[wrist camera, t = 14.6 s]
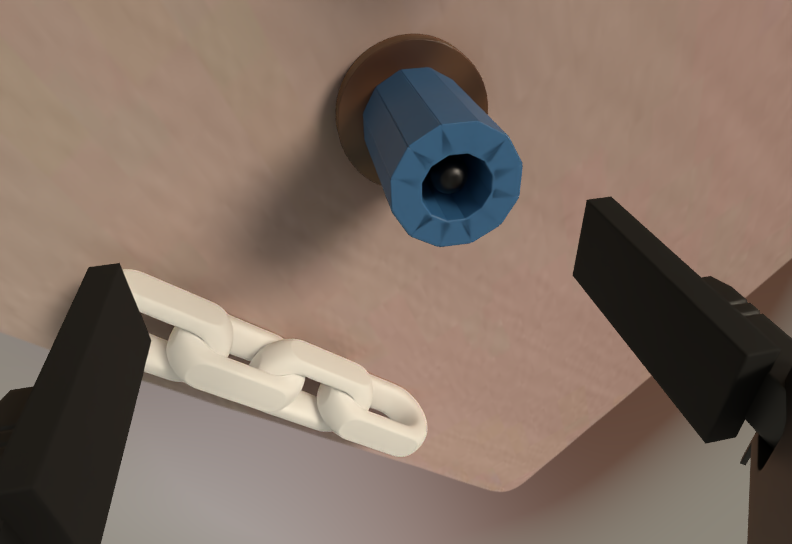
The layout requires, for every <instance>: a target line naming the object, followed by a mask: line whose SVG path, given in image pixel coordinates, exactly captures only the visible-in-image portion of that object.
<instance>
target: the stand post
mask: <svg viewBox="0 0 792 544" xmlns="http://www.w3.org/2000/svg"><path fill="white" fill-rule="evenodd" d="M427 176H428V178H429V179H430V181H431V183H432V185H433V186H434V187H435V188H436V189H437V190H438V191H440V192H442V193H446V194H451V193H455V192H457V191H459V190H461V189H462V188H463V187H464V185H465V184H466V181H467V178H468V170H467V167H466V165H465V163H464V162H463V160H462V159H461V157H460V156H459V155H458V154H457V155H449V156H447V157H446V158H444V159H443V160H441V161H439V162H438V163H436V164H435V165H433V166H432V167H431V168H430V170H429V172H428V173H427Z"/></svg>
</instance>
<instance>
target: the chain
mask: <svg viewBox="0 0 792 544" xmlns="http://www.w3.org/2000/svg"><path fill="white" fill-rule="evenodd" d="M122 270H123V273H124V275H125V277H126V280H127V282H128V285H129V287H130V290H131V292H132V294H133V297H134V299H135V302H136V304H137V307H138V309H139V311H140V312H141V313H144V314H146V315H148V316H151V317H153V318H156V319H158V320H161V321H163V322H166V323H168V324H171V325H174V328H173V330H172V332H171V334H170V337H169V339H168V341H167V340H165V339H162V338H160V337H157V336H155V335H152V334H149V336H150V338H151V344H150V348H149V352H148V356H147V360H146V364H145V368H144V372H147V373H149V374H152V375H155V376H158V377H161V378H164V379H167V380H171V381H175V382H185V383H186V384H188V385H189V386H191V387H193V388H196V389H198V390H201V391H204V392H207V393H210V394H213V395H216V396H219V397H222V398H225V399H228V400H231V401H234V402H237V403H239V404H242V405H245V406H248V407H251V408H254V409H257V410H260V411H262V412H265V413H267V414H270V415H273V416H276V417H279V418H282V419H285V420H288V421H291V422H294V423H297V424H300V425H303V426H306V427H309V428H312V429H314V430H318V431H322V432H334V433H336V434H337V435H338V436H340V437H341V438H343V439H346V440H348V441H351V442H354V443H357V444H360V445H363V446H366V447H369V448H372V449H375V450H378V451H381V452H384V453H387V454H390V455H393V456H397V457H404V456H408V455H410V454H412V453H414V452H415V451H416V450H417V449H418V448H419V447H420V446H421V445H422V443H423V442H424V440H425V438H426V434H427V421H426V417H425V415H424V412H423V410H422V408H421V407H420V405H419V404H418V402H417V401H416V400H415V399H414V397H413V396H412V395H411V394H410V393H409V392H407V391H406V390H405V389H403V388H402V387H400V386H398V385H396V384H393V383H391V382H389V381H386V380H384V379H381V378H379V377H377V376H374V375H372V374H369V373H368V372H367V371H366V370H365V369H364V368H363V367H362V366H361V365H359V364H357V363H355V362H353V361H350V360H348V359H346V358H343V357H341V356H338V355H336V354H334V353H331V352H329V351H327V350H324V349H322V348H320V347H317V346H315V345H313V344H310V343H308V342H306V341H303V340H300V339H284V338H282V337H280V336H279V335H277V334H274V333H272V332H269V331H267V330H265V329H262V328H260V327H258V326H255V325H253V324H250V323H248V322H246V321H243V320H241V319H238V318H236V317H234V316H231V315H229V314H227V313H226V311H225V310H224V309H223V308H222V307H220V306H219V305H217V304H216V303H213V302H211V301H209V300H207V299H204V298H202V297H200V296H197V295H195V294H193V293H190V292H188V291H186V290H183V289H181V288H179V287H176V286H174V285H171V284H169V283H167V282H164V281H162V280H160V279H157V278H155V277H153V276H150V275H148V274H146V273H143V272H140V271H137V270H133V269H122ZM229 354H231V355H234V356H237V357H239V358H242V359H245V360H248V361H250V364H249V365H246V364H244V363H241V362H238V361H235V360H233V359H230V358H227V357H228V356H229ZM305 377H308V378H310V379H313V380H315V381H317V382H320V383H321V384H320V386H319V388H318V392H317V396H314V395H312V394H309V393H307V392H304V391H302V387H303V385H304V382H305ZM369 408H373V409H375V410H378V411H380V412H382V413H384V414H385V415H386V416H388V417H389V418H390V419H389V418H386V417H383V416H381V415H378V414H375V413H372V412H369V411H368V410H369Z"/></svg>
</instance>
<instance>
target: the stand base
mask: <svg viewBox="0 0 792 544" xmlns="http://www.w3.org/2000/svg"><path fill="white" fill-rule="evenodd" d="M425 67H429V68H432V69H433V70H435V71H437V72H439V73H441V74H443V75H445V76H447V77H449V78H450V79H452V80H453V81H454V82H455V83H456V84H457V85H458V86H459V87H460V88H461V89H462V90H463V91H464V92H465V93H466V94H467V95H468V96H469V97H470V98H471V99H472V100H473V101H474V102H475V103H476V104H477V105H478V106H479V107H480V108H481V109H482V110H483V111H484V112H485V113H486V114H487V115H488V101H487V93H486V90H485V86H484V83H483V81H482V78H481V76H480V74H479V72H478V71H477V69H476V67H475V66H474V65H473V64H472V62H471V61H470V60H469V59H468V58H467V57H466V56H465V55H464V54H463V53H461V52H460V51H459V50H458V49H456V48H455V47H454V46H452V45H451V44H449V43H448V42H446V41H443V40H441V39H439V38H436V37H433V36H430V35H423V34H404V35H398V36H394V37H391V38H388V39H386V40H383V41H381V42H379V43H377V44H376V45H374V46H372V47H371V48H369V49H368V50H367V51H366V52H364V53H363V54H362V55H361V56H360V57H359V58H358V59H357V60H356V61H355V62H354V63H353V65H352V66H351V68H350V69H349V70H348V72H347V74H346V75H345V77H344V79H343V81H342V84H341V86H340V89H339V92H338V97H337V101H336V125H337V130H338V134H339V138H340V141H341V144H342V147H343V149H344V151H345V154H346V156H347V157H348V159H349V160H350V162H351V163H352V164H353V166H354V167H355V168H356V169H357V170H358V171H359V172H360V173H361V174H362V175H364V176H365V177H366V178H368V179H369V180H371V181H373V182H375V183H377V184H379V185H381V182H380V179H379V177H378V174H377V171H376V169H375V166H374V164H373V161H372V158H371V156H370V153H369V150H368V148H367V145H366V142H365V140H364V126H363V114H364V113H363V112H364V110H365V108H366V106H367V104H368V102H369V100H370V97H371V95H372V93H373V91H374V89H375V88H376V86H377V85H379V84H380V83H382V82H383V81H384V80H386V79H387V78H389V77H390V76H392V75H393V74H394V73H396V72H397V71H399V70H401V69H413V68H425ZM381 186H382V185H381Z"/></svg>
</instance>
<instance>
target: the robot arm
mask: <svg viewBox="0 0 792 544" xmlns="http://www.w3.org/2000/svg"><path fill="white" fill-rule="evenodd" d="M573 276H574V278H575V279H576V280H577V281H578V283H579V284H580V285H581V286H582V288H583V289H584V290H585V292H586V293H587V294H588V295H589V297H590V298H591V299H592V300H593V302H594V303H595V304H596V305H597V307H598V308H599V309H600V311H601V312H602V313H603V314H604V316H605V317H606V318H607V319H608V321H609V322H610V323H611V324H612V326H613V327H614V328H615V330H616V331H617V332H618V333H619V335H620V336H621V337H622V338H623V340H624V341H625V342H626V343H627V345H628V346H629V347H630V348H631V350H632V351H633V352H634V354H635V355H636V356H637V357H638V359H639V360H640V361H641V362H642V364H643V365H644V366H645V367H646V369H647V370H648V371H649V373H650V374H651V375H652V376H653V378H654V379H655V380H656V381H657V382H658V384H659V385H660V386H661V388H662V389H663V390H664V392H665V393H666V394H667V395H668V396H669V398H670V399H671V400H672V402H673V403H674V404H675V405H676V407H677V408H678V409H679V410H680V412H681V413H682V414H683V416H684V417H685V418H686V419H687V420H688V422H689V423H690V424H691V426H692V427H693V428H694V429H695V431H696V432H697V433H698V435H699V436H700V437H701V438H702V440H703V441H704V442H705V443H710V442H715V441H720V440H725V439H730V438H735V437H736V436H737V434H738V432H739V430H740V428H741V426H742V424H743V423H744V421H745V419H746V421H747V422H748V423H750V425H751V426H752V427H753V428H754V429H755V431H756V433H755V435H754V437H753V439H752V440H751V442H750V444H749V446H748V448H747V450H746V452H745V453H744V455H743V457H742V459H741V462H740V463H741V464H744V465H746V463H747V462H748V460H749V458H751V467H750V491H749V517H748V541H747V544H792V338H791V337H789V336H788V335H787V334H786V333H785V332H784V331H782V330H781V329H780V328H779V327H778V326H777V325H775V324H774V323H773V322H772V321H771V320H770V319H768V318H767V317H766V316H765V315H764V314H760V311H759V310H758V309H757V308H756V307H754V306H753V305H752V304H751V303H747V300H746V299H745V298H744V297H743V296H742V295H741V294H739V293H738V292H737V291H736V290H735V289H734V288H732V287H731V286H729V285H727V284H725V283H723V282H721V281H719V280H717V279H715V278H713V277H711V276H708V277H702V278H701V277H700V276H699V275H698V274H697V273H696V272H694V271H693V270H692V269H691V268H690V267H689V266H688V265H687V264H686V263H684V262H683V261H682V260H681V259H680V258H679V257H678V256H677V255H675V254H674V253H673V252H672V251H671V250H670V249H669V248H668V247H667V246H665V245H664V244H663V243H662V242H661V241H660V240H659V239H658V238H657V237H655V236H654V235H653V234H652V233H651V232H650V231H649V230H648V229H647V228H645V227H644V226H643V225H642V224H641V223H640V222H639V221H638V220H637V219H635V218H634V217H633V216H632V215H631V214H630V213H629V212H628V211H626V210H625V209H624V208H623V207H622V206H621V205H620V204H619V203H618V202H616V201H615V200H614V199H613V198H612V197H604V198H597V199H589V200H587V202H586V207H585V212H584V218H583V223H582V228H581V234H580V239H579V244H578V250H577V255H576V260H575V265H574V271H573ZM150 344H151V338H150V336H149V333H148V331H147V328H146V326H145V324H144V321H143V319H142V316H141V314H140V311H139V309H138V307H137V304H136V302H135V299H134V297H133V294H132V292H131V290H130V287H129V285H128V282H127V280H126V277H125V275H124V273H123V270H122V268H121V265H120V263H117V264H109V265H102V266H95V267H89V268H88V270H87V272H86V274H85V276H84V279H83V281H82V283H81V285H80V287H79V289H78V292H77V294H76V296H75V298H74V300H73V302H72V304H71V307H70V309H69V311H68V313H67V315H66V317H65V320H64V322H63V324H62V326H61V328H60V330H59V333H58V335H57V337H56V339H55V341H54V343H53V346H52V348H51V350H50V352H49V354H48V357H47V359H46V361H45V363H44V365H43V367H42V369H41V372H40V374H39V376H38V378H37V380H36V382H35V385H34V386H33V387H28V388H21V389H15V390H10V391H9V392H8V393H7V394H6V395H5V396H4V397H3V398H2V400H0V544H101V540H102V536H103V532H104V528H105V524H106V520H107V516H108V512H109V508H110V504H111V500H112V496H113V492H114V488H115V484H116V480H117V476H118V472H119V468H120V464H121V460H122V456H123V452H124V448H125V444H126V440H127V436H128V432H129V428H130V424H131V420H132V416H133V412H134V408H135V404H136V400H137V396H138V392H139V388H140V384H141V380H142V376H143V372H144V368H145V364H146V360H147V356H148V352H149V348H150Z"/></svg>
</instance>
